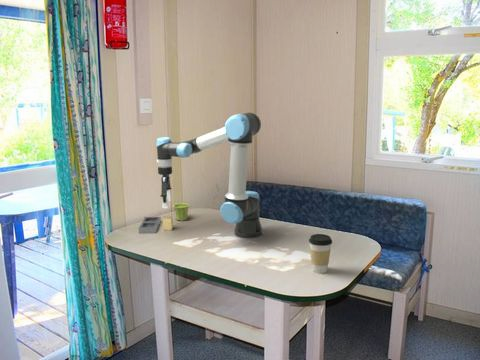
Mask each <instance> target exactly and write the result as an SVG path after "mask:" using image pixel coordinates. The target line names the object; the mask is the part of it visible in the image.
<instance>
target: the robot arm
mask: <svg viewBox="0 0 480 360" xmlns="http://www.w3.org/2000/svg"><path fill="white" fill-rule="evenodd" d="M261 127H262V122H261V119H260V117H259V116H258V114H255V113H253V112H245V113H237V114H233V115H232V116H229V118H228V119H227V120H226V122H225V124H224V126H223V127H221V128H218V129H216V130H213V131H210V132H208V133H206V134H205V133H204V134H203V135H201V136H198V137H196V138H193V139H190V140H185V141H181V142H178V141H177V142H176V141H175V142H172V139H171V138H170V137H158V138H157V139H156V156H157V160H156V163H157V166H158V167H157V173H158V175H162V176H161V179H160V181H161V193H160V197H161V202H162V203H161V204H162V209H168V207H169V206H168V205H169V204H168V203H169V202H171V190H172V187H171V180H170V178H171V177H170V175H172V174H173V167H172V166H173V158H172V157H175V158H182V159H183V158H190V156H192V155H193V154H194V155H195V154H198V153H201V152H202V151H204V150H208V149H211V148H212V147H215V146H218V145H220V144H223V143H227V142H228V143H229V145H230V159H229V172H228V173H229V175H228V188H227V189H228V192H226V193H225V195H224V202H223V204H221V206H220V210H219V211H220V216H221V218H222V219H223V221H225V222H226V223H228V224H230V225H234V226H235V227H234V230H233V231H234V232H233V233H234V235H235V236H236V237H240V238H245V239H253V238H258V237H261V236H262V235H263V232H264V231H263V226H262V223H261V220H260V194H259V192H256V191H252V190H247V176H248V175H247V174H248V161H249V148H250V145H252V143H253V138H254V136H255V135H257V134H258V133H259V131H260V130H261Z"/></svg>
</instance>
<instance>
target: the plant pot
mask: <svg viewBox="0 0 480 360" xmlns="http://www.w3.org/2000/svg"><path fill="white" fill-rule="evenodd" d="M189 207H190V204H188V203H184V202H183V203H175V204H173V209H174V212H175V218H176V221H180V222H182V221H186V220H188V214H189V213H188V212H189Z"/></svg>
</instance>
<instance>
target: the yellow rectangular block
mask: <svg viewBox="0 0 480 360" xmlns="http://www.w3.org/2000/svg"><path fill="white" fill-rule="evenodd" d="M162 222H163V223H162V227H163V231H164V232H170V231H173V228H174V227H173V215H164V216H163V217H162Z"/></svg>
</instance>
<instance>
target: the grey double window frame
mask: <svg viewBox="0 0 480 360" xmlns="http://www.w3.org/2000/svg"><path fill="white" fill-rule="evenodd" d="M161 222H162V219H161V216H145V217H144V218H143V219H142V222H141V224H140V225H139V227H138V234H157V232H158V229H159V226H160V225H161Z"/></svg>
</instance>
